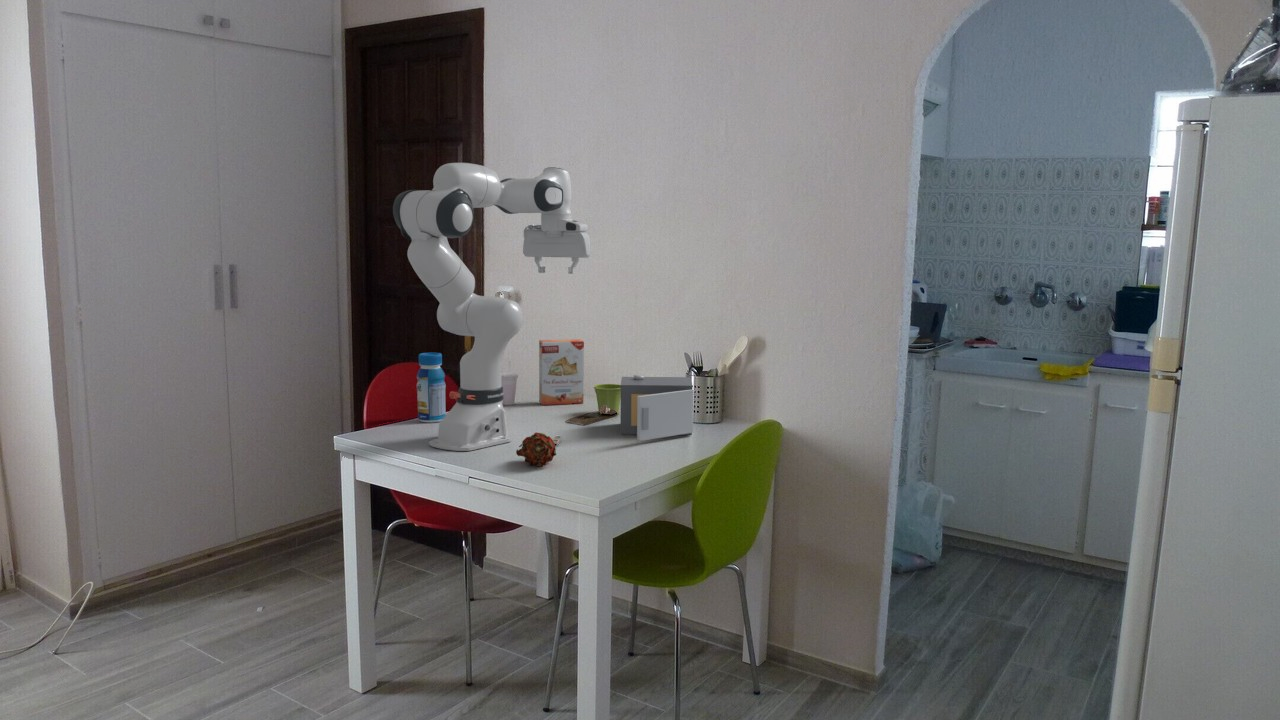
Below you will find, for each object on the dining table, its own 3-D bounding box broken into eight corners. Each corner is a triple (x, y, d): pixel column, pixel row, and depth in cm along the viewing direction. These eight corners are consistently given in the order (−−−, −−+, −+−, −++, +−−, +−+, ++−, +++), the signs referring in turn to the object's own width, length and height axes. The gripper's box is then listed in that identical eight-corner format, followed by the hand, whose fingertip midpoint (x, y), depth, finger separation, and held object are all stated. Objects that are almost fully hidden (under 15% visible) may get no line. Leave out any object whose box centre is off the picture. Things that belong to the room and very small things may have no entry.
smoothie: (517, 405, 298) (517, 362, 296) (497, 405, 298) (497, 362, 296) (519, 401, 304) (518, 359, 302) (499, 401, 304) (499, 359, 302)
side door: (694, 433, 256) (695, 390, 254) (641, 441, 246) (641, 397, 244) (690, 431, 258) (690, 389, 256) (637, 440, 248) (637, 396, 246)
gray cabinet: (691, 435, 258) (692, 382, 256) (620, 434, 258) (620, 381, 256) (689, 423, 272) (690, 373, 270) (621, 423, 273) (621, 373, 270)
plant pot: (591, 411, 290) (591, 384, 289) (620, 410, 292) (621, 383, 291) (595, 417, 281) (595, 389, 280) (626, 416, 283) (626, 388, 282)
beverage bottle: (443, 423, 271) (441, 356, 268) (414, 423, 271) (412, 355, 268) (449, 417, 280) (447, 351, 277) (421, 417, 280) (419, 351, 277)
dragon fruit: (546, 477, 221) (525, 472, 231) (570, 452, 224) (549, 449, 235) (525, 451, 218) (505, 448, 228) (549, 426, 222) (529, 424, 232)
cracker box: (541, 406, 298) (541, 341, 295) (538, 402, 304) (538, 339, 300) (584, 404, 302) (584, 340, 298) (580, 400, 307) (580, 338, 304)
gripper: (519, 224, 267) (519, 272, 269) (584, 225, 261) (584, 274, 263) (528, 225, 273) (528, 271, 275) (592, 225, 267) (592, 273, 269)
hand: (556, 273), depth 269 cm, fingers open, 8 cm apart
